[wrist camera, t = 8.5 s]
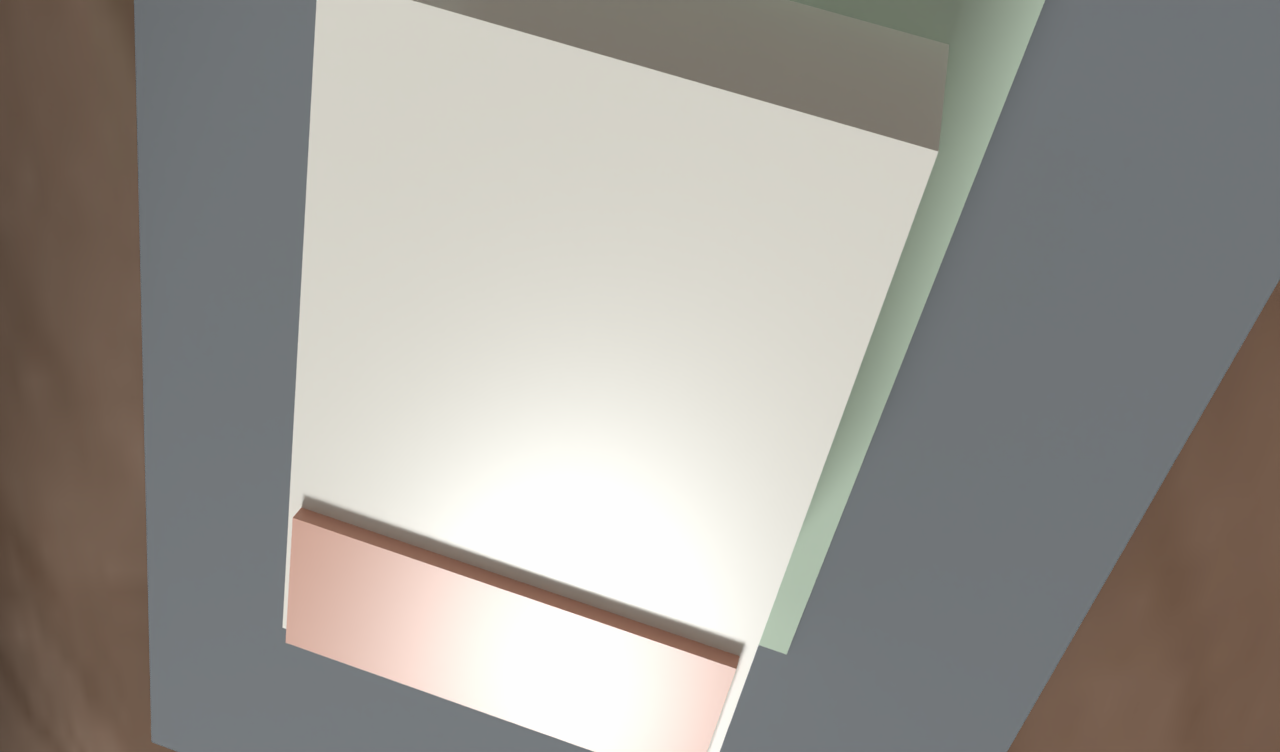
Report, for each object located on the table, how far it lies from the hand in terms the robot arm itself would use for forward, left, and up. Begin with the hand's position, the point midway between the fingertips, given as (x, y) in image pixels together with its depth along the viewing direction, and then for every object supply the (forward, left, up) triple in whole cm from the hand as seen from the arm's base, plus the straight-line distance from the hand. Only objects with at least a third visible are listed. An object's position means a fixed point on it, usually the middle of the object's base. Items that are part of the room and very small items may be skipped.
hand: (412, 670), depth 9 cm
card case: (0, 0, -7) cm, 7 cm away
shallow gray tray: (-4, 0, -8) cm, 8 cm away
